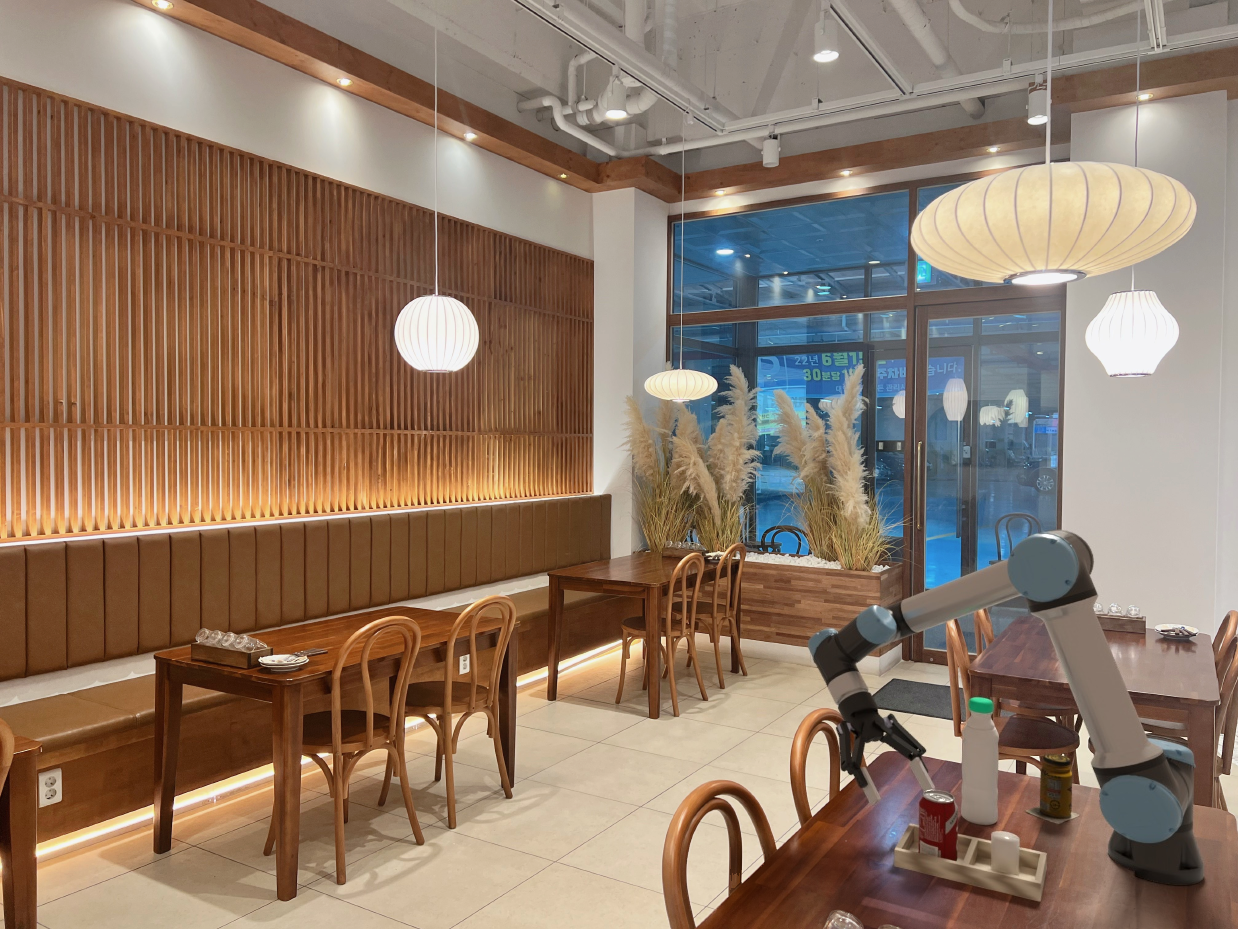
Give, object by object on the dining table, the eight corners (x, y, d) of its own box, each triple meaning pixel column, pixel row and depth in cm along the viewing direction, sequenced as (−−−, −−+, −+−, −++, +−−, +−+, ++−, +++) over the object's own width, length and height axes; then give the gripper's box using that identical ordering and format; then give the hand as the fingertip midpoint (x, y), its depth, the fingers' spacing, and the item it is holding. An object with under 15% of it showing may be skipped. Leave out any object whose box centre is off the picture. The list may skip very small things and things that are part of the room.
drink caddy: (1046, 875, 157) (1046, 853, 157) (1040, 907, 146) (1040, 883, 146) (909, 843, 169) (909, 823, 169) (894, 871, 158) (894, 849, 158)
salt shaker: (1020, 873, 155) (1020, 835, 155) (1017, 884, 151) (1018, 844, 151) (992, 867, 158) (993, 829, 158) (989, 878, 154) (989, 838, 154)
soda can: (937, 871, 156) (938, 805, 156) (910, 855, 162) (911, 791, 162) (965, 864, 159) (966, 799, 158) (937, 849, 165) (938, 786, 165)
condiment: (1080, 815, 183) (1081, 759, 183) (1058, 825, 179) (1059, 767, 178) (1047, 803, 189) (1048, 749, 189) (1024, 812, 185) (1025, 756, 184)
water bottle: (1004, 821, 180) (1006, 701, 180) (984, 829, 176) (986, 706, 176) (973, 809, 186) (975, 693, 185) (953, 816, 182) (955, 698, 181)
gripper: (890, 701, 189) (941, 795, 176) (796, 715, 178) (843, 816, 165) (908, 683, 184) (962, 778, 171) (812, 696, 173) (862, 798, 160)
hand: (903, 797), depth 168 cm, fingers open, 13 cm apart
